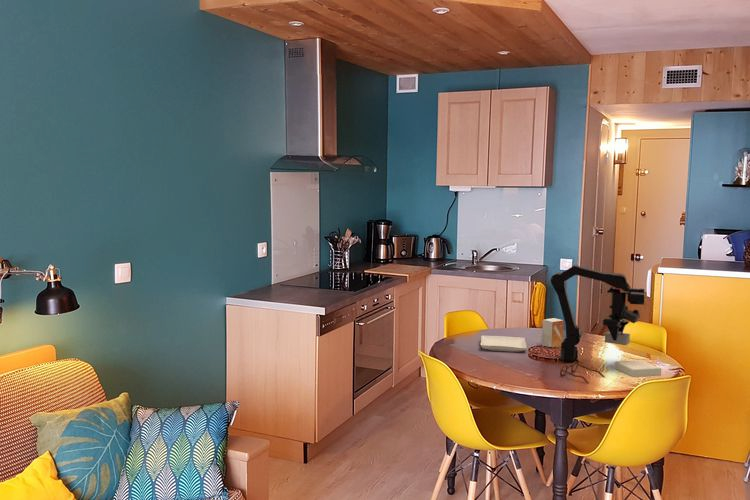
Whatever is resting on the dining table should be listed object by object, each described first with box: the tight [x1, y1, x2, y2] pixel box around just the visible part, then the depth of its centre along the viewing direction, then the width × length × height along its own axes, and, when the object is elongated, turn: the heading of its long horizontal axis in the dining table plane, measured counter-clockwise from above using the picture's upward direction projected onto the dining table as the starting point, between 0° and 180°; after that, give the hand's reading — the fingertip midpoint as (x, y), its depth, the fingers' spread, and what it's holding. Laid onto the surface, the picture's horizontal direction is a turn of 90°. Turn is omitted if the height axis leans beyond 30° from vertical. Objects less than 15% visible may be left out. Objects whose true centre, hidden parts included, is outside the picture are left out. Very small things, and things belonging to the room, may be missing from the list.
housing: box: [604, 330, 631, 346], centre depth 279 cm, size 5×9×5 cm, turn 54°
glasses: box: [559, 361, 606, 384], centre depth 264 cm, size 13×13×5 cm
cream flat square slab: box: [480, 335, 528, 353], centre depth 312 cm, size 21×21×3 cm
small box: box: [541, 317, 565, 348], centre depth 313 cm, size 8×6×13 cm
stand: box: [614, 359, 662, 378], centre depth 272 cm, size 13×13×3 cm
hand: (617, 339), depth 279 cm, fingers closed on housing, 5 cm apart
